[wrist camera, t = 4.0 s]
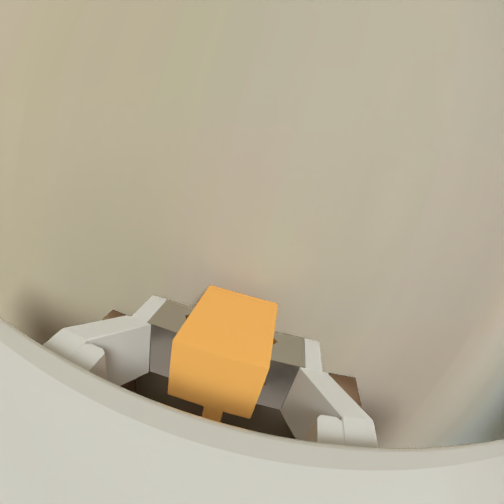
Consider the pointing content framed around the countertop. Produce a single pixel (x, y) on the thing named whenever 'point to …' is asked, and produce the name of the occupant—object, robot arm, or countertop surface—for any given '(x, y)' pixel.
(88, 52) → the countertop surface
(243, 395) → the block
